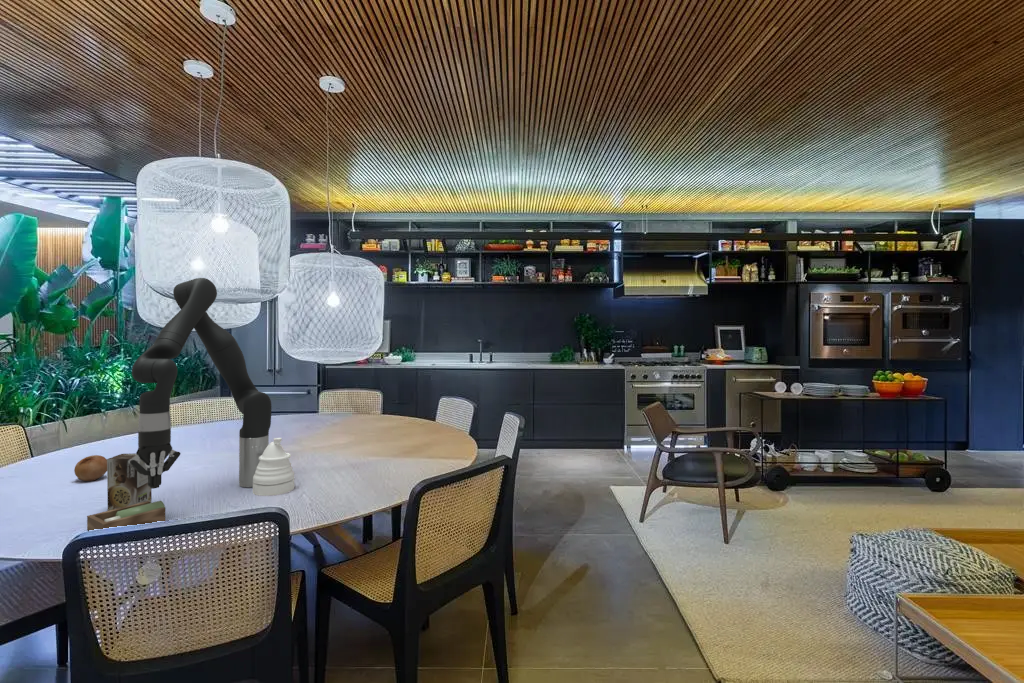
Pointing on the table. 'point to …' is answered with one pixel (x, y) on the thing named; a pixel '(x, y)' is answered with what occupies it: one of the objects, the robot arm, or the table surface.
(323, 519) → the table surface
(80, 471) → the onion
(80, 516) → the table surface
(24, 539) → the table surface
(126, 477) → the coffee box
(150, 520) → the u rest
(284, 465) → the honey pot
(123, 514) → the bottle
